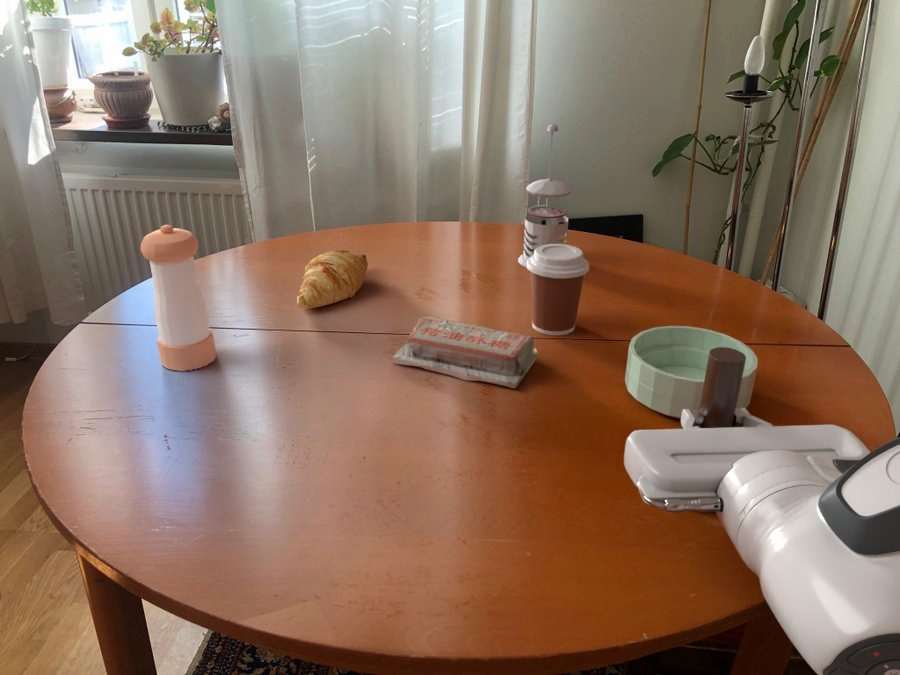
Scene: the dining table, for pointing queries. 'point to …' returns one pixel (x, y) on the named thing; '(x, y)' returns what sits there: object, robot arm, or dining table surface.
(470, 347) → the packaged product
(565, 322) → the coffee cup
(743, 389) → the bowl
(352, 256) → the croissant
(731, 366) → the brown tall cylinder
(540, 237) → the french press
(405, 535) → the dining table surface
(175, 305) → the pepper shaker
